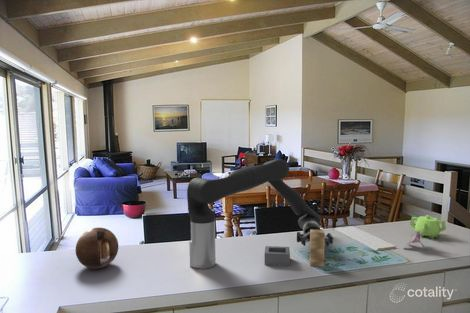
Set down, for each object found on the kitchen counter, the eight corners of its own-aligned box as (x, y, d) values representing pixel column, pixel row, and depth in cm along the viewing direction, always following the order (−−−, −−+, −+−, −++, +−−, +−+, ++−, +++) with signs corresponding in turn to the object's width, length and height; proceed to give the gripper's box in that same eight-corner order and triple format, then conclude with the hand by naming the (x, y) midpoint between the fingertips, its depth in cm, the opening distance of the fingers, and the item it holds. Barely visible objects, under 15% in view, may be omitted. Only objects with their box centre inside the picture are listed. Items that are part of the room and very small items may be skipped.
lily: (421, 245, 159) (409, 226, 160) (443, 243, 148) (430, 222, 150) (403, 258, 154) (392, 238, 156) (424, 257, 144) (412, 235, 145)
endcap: (264, 264, 136) (264, 253, 136) (265, 257, 144) (265, 245, 144) (289, 266, 135) (289, 254, 134) (289, 258, 143) (289, 246, 142)
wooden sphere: (77, 262, 139) (75, 225, 138) (118, 257, 145) (116, 221, 143) (75, 278, 125) (73, 236, 124) (120, 271, 131) (118, 231, 129)
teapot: (408, 232, 174) (408, 213, 173) (428, 231, 176) (429, 211, 175) (425, 240, 162) (426, 219, 162) (447, 239, 165) (448, 218, 164)
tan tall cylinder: (310, 265, 135) (310, 232, 134) (309, 262, 139) (310, 229, 137) (323, 266, 135) (324, 232, 133) (322, 262, 138) (323, 229, 137)
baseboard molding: (372, 252, 150) (396, 249, 153) (372, 245, 150) (396, 243, 153) (331, 231, 179) (352, 228, 183) (331, 225, 179) (352, 223, 183)
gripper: (295, 222, 156) (297, 233, 140) (329, 223, 154) (334, 235, 138) (295, 239, 156) (297, 252, 140) (328, 240, 155) (334, 253, 139)
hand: (315, 243), depth 139 cm, fingers open, 8 cm apart
